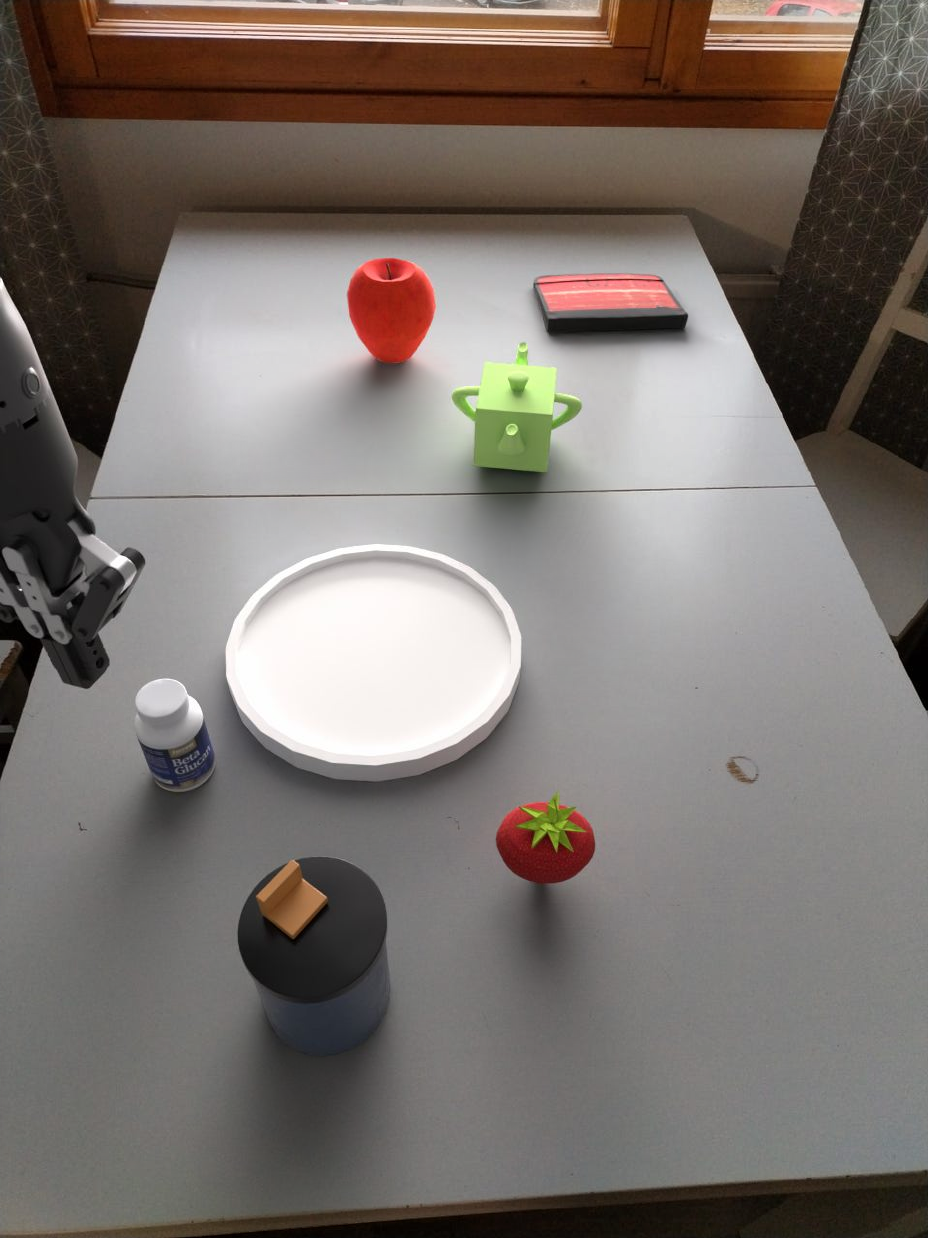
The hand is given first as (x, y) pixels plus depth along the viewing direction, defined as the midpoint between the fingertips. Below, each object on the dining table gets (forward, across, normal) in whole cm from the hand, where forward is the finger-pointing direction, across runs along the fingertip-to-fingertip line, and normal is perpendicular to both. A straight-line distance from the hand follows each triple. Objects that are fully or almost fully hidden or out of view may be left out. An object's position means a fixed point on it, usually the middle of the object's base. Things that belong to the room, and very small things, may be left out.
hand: (88, 676), depth 51 cm
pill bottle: (+24, -9, +12) cm, 29 cm away
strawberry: (+28, +23, +13) cm, 38 cm away
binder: (+19, +4, +108) cm, 109 cm away
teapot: (+22, +3, +66) cm, 70 cm away
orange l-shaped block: (+16, +11, -1) cm, 19 cm away
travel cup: (+27, +11, -1) cm, 30 cm away
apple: (+18, -19, +81) cm, 86 cm away
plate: (+24, +1, +29) cm, 38 cm away
